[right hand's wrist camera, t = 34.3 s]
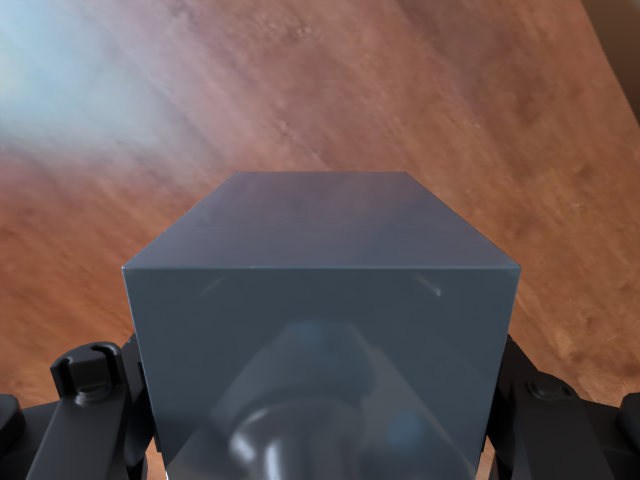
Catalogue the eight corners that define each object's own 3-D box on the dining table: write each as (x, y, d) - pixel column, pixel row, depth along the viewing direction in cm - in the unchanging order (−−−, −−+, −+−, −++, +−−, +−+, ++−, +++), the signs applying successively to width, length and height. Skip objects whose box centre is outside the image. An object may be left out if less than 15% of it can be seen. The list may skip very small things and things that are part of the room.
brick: (235, 171, 14) (119, 266, 6) (406, 171, 14) (523, 266, 6) (250, 353, 17) (187, 579, 9) (390, 353, 17) (454, 579, 9)
